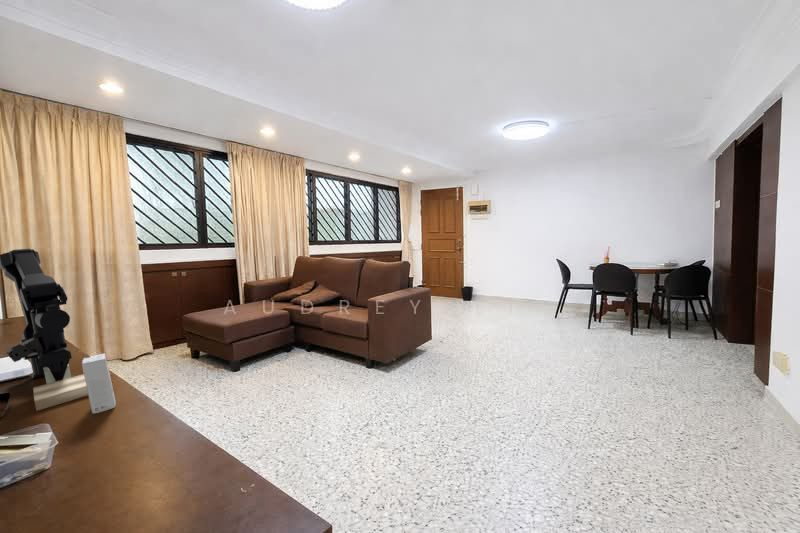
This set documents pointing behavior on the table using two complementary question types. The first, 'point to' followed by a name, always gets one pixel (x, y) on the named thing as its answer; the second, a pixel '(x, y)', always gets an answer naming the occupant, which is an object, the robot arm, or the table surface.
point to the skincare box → (98, 383)
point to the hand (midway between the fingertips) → (58, 380)
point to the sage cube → (50, 377)
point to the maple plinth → (60, 392)
